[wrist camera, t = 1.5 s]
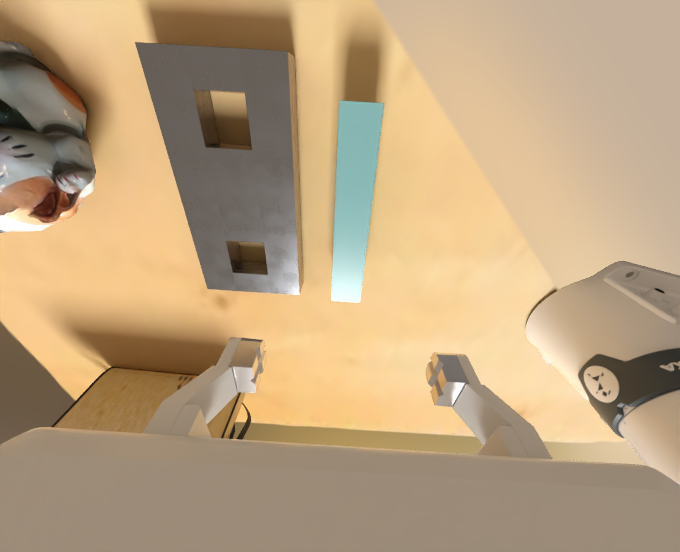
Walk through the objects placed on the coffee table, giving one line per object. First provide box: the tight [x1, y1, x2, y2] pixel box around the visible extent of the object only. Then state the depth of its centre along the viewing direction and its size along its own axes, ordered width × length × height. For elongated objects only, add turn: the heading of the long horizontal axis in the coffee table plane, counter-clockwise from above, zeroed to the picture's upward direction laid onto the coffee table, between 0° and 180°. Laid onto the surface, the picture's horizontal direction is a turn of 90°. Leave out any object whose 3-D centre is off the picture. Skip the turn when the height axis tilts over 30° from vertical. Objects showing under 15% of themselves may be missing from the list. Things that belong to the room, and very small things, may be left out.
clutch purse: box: [52, 367, 251, 440], centre depth 44 cm, size 30×7×15 cm, turn 84°
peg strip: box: [331, 101, 384, 303], centre depth 27 cm, size 4×20×5 cm, turn 177°
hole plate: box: [135, 42, 303, 295], centre depth 28 cm, size 12×24×3 cm, turn 177°
